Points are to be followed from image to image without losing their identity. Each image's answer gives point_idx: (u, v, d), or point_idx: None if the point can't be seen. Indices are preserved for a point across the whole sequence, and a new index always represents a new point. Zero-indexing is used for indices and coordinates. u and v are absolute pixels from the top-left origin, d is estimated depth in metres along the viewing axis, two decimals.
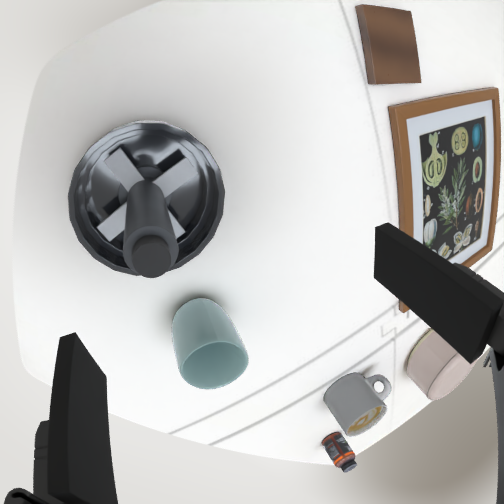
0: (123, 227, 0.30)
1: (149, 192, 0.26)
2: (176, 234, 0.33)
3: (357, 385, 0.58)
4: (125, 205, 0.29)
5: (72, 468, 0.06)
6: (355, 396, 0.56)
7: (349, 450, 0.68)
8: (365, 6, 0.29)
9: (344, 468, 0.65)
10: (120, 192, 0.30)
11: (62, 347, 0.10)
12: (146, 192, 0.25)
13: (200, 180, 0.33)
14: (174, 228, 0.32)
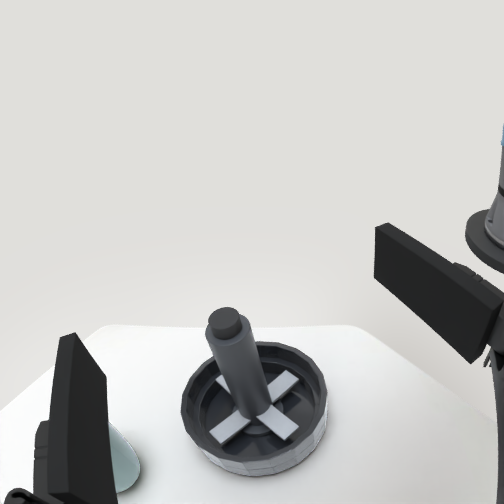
0: (228, 388, 0.33)
1: (265, 382, 0.28)
2: (218, 435, 0.28)
3: None
4: None
5: (72, 468, 0.06)
6: None
7: None
8: None
9: None
10: None
11: (62, 347, 0.10)
12: (265, 379, 0.29)
13: None
14: (224, 433, 0.29)
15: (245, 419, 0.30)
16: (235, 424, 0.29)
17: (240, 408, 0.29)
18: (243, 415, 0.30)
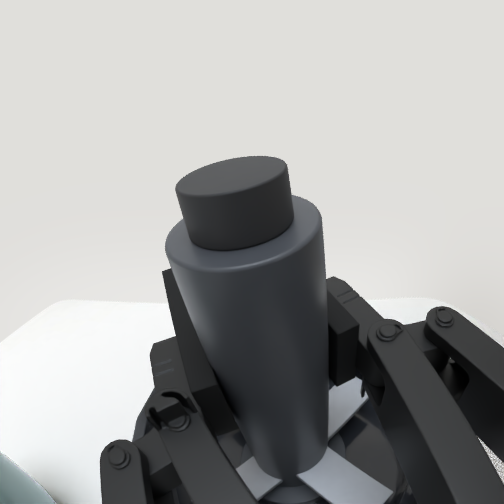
0: None
1: None
2: None
3: None
4: None
5: None
6: None
7: None
8: None
9: None
10: None
11: (168, 278, 0.13)
12: None
13: None
14: None
15: (270, 478, 0.12)
16: None
17: (262, 460, 0.11)
18: (266, 471, 0.12)
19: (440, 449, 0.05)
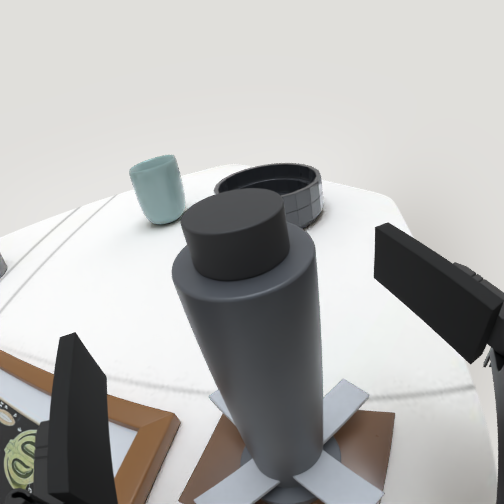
0: None
1: None
2: None
3: None
4: None
5: (72, 468, 0.06)
6: None
7: None
8: (390, 418, 0.17)
9: None
10: None
11: (62, 347, 0.10)
12: None
13: None
14: None
15: (268, 479, 0.13)
16: (247, 489, 0.13)
17: (260, 463, 0.12)
18: (265, 472, 0.13)
19: None
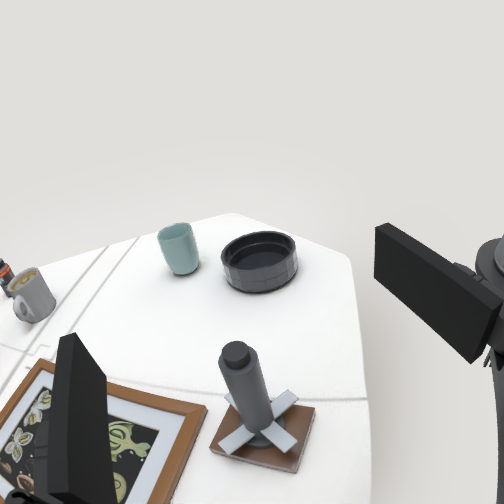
0: (235, 405, 0.36)
1: (269, 402, 0.32)
2: (225, 447, 0.32)
3: (40, 305, 0.64)
4: None
5: (72, 468, 0.06)
6: (41, 293, 0.64)
7: (2, 277, 0.74)
8: (312, 410, 0.36)
9: (2, 260, 0.75)
10: None
11: (62, 347, 0.10)
12: (269, 400, 0.32)
13: None
14: (231, 445, 0.32)
15: (250, 433, 0.33)
16: (241, 437, 0.33)
17: (246, 424, 0.32)
18: (248, 429, 0.33)
19: None
